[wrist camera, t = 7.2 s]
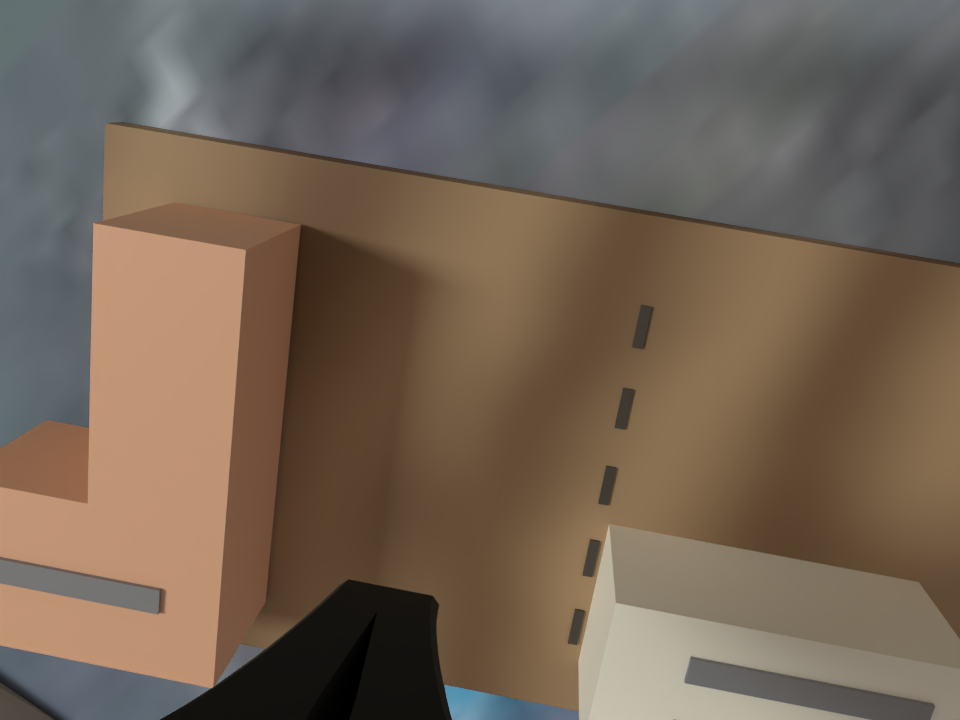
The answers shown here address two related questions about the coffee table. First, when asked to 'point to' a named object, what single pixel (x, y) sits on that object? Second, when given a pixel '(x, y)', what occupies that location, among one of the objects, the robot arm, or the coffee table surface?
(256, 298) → the block
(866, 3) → the coffee table surface
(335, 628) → the robot arm
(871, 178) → the coffee table surface
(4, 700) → the packaged product
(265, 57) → the coffee table surface
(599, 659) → the white toaster
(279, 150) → the board
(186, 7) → the coffee table surface
